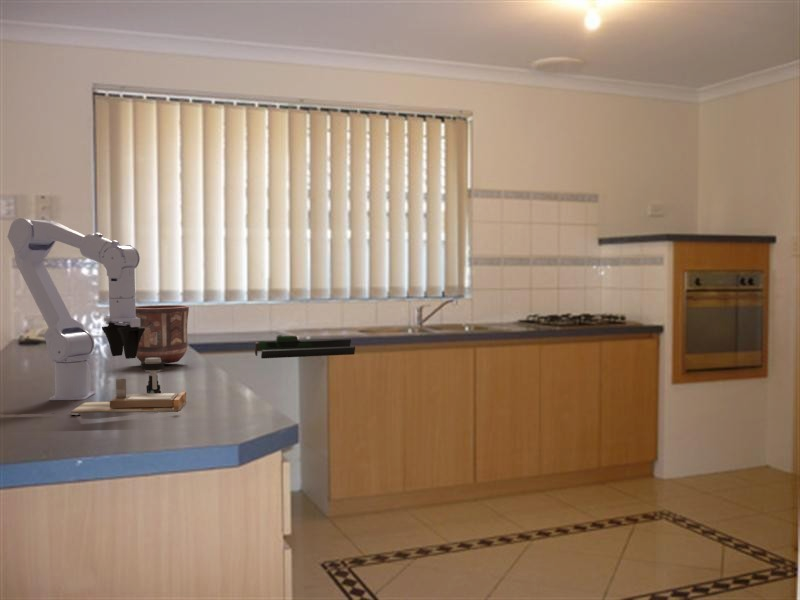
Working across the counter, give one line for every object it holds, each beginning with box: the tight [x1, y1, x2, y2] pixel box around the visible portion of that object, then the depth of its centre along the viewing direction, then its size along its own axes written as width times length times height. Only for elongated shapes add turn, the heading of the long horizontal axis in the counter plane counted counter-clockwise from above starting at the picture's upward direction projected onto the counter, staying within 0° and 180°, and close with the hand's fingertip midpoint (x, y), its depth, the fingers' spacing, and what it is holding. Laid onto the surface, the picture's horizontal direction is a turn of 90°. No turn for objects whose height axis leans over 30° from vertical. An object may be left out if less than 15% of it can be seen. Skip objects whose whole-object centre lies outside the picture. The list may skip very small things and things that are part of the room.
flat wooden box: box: [70, 391, 187, 414], centre depth 172 cm, size 11×22×3 cm, turn 97°
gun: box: [254, 334, 359, 359], centre depth 271 cm, size 6×35×8 cm, turn 112°
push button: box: [140, 357, 165, 394], centre depth 183 cm, size 7×5×10 cm
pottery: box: [136, 304, 190, 365], centre depth 256 cm, size 18×18×18 cm
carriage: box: [109, 378, 179, 408], centre depth 172 cm, size 8×13×6 cm, turn 97°
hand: (123, 357), depth 181 cm, fingers open, 7 cm apart
